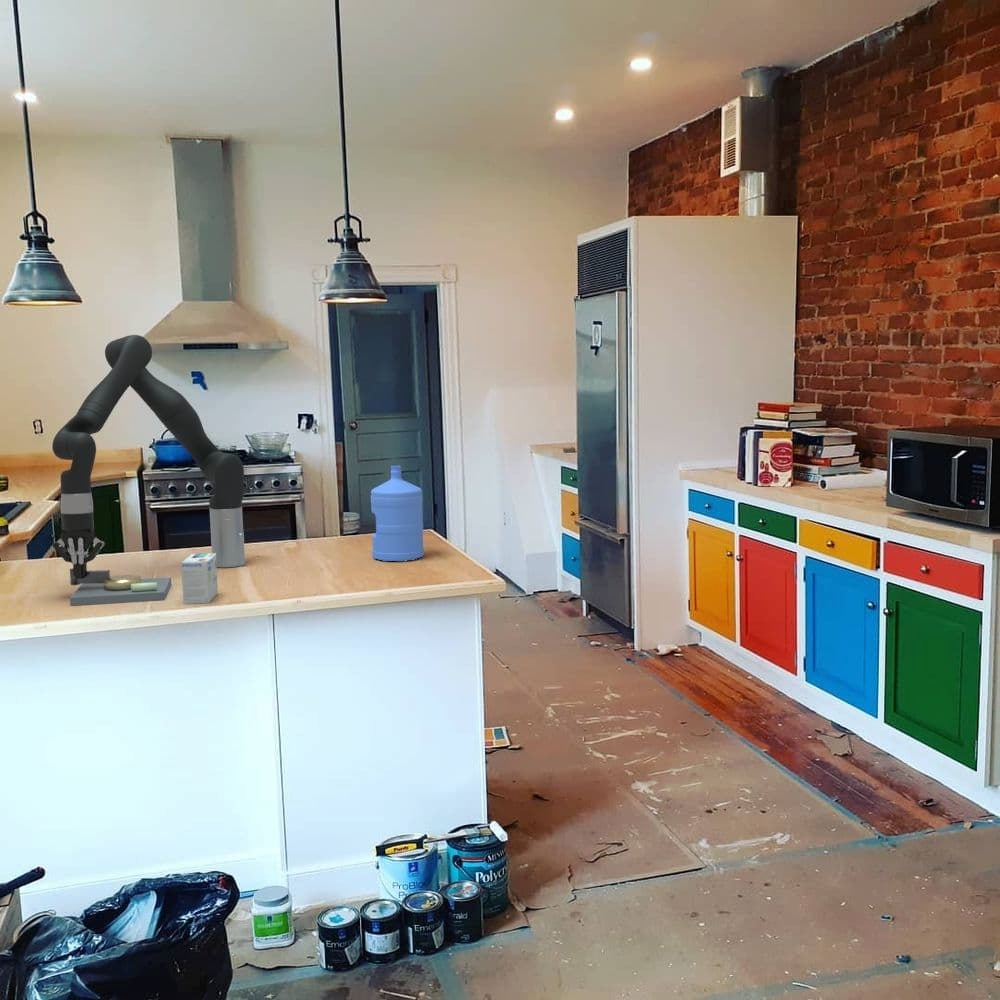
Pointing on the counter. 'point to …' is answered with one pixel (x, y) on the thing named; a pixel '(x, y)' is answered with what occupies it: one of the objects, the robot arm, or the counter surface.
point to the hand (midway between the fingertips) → (80, 578)
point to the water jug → (397, 519)
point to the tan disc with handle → (106, 579)
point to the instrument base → (122, 592)
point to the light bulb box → (199, 578)
